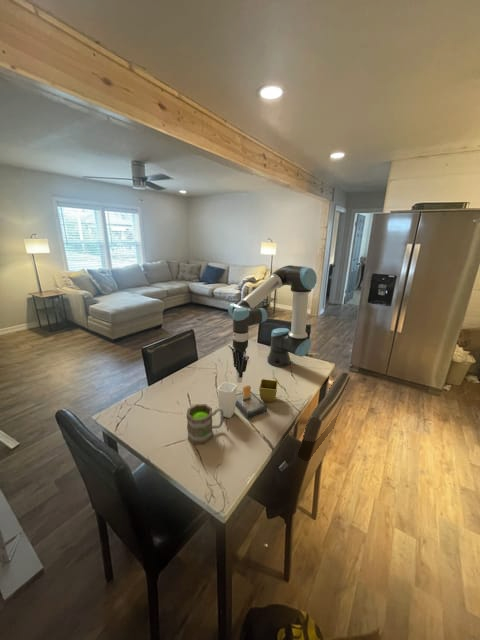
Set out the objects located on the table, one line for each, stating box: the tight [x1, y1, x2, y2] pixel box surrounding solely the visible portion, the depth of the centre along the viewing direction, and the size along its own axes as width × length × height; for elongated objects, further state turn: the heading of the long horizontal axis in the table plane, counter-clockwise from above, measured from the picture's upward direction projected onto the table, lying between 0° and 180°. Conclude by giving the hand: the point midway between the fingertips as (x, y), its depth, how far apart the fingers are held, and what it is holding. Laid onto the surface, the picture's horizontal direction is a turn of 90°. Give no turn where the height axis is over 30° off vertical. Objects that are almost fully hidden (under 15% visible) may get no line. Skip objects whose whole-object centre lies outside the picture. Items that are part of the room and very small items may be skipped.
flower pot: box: [258, 378, 279, 403], centre depth 134 cm, size 9×9×9 cm
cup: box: [217, 381, 238, 419], centre depth 121 cm, size 7×7×15 cm
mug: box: [186, 403, 224, 446], centre depth 109 cm, size 16×11×12 cm
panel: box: [235, 390, 268, 420], centre depth 129 cm, size 11×16×3 cm
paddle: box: [242, 384, 252, 400], centre depth 129 cm, size 4×1×7 cm, turn 121°
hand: (239, 381), depth 134 cm, fingers closed
